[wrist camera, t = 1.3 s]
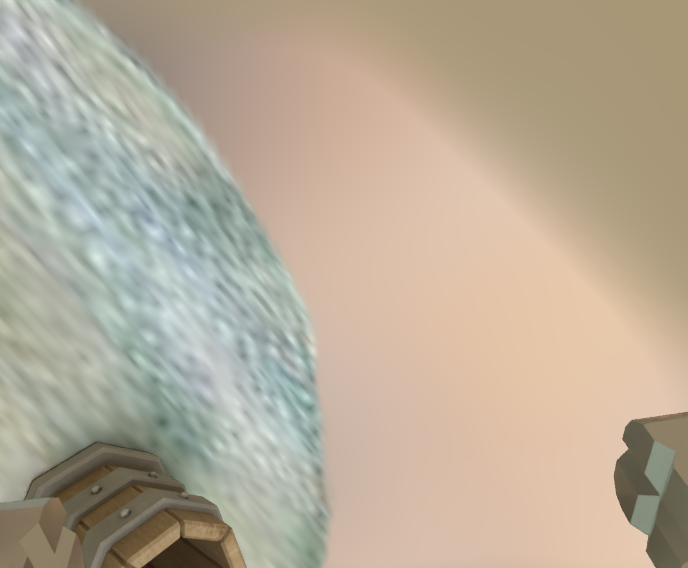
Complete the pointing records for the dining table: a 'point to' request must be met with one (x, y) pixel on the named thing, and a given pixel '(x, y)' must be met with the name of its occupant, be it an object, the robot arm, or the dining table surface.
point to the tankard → (136, 513)
